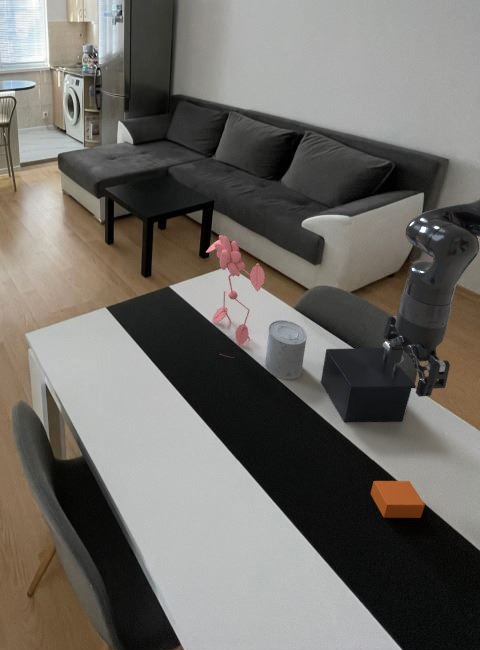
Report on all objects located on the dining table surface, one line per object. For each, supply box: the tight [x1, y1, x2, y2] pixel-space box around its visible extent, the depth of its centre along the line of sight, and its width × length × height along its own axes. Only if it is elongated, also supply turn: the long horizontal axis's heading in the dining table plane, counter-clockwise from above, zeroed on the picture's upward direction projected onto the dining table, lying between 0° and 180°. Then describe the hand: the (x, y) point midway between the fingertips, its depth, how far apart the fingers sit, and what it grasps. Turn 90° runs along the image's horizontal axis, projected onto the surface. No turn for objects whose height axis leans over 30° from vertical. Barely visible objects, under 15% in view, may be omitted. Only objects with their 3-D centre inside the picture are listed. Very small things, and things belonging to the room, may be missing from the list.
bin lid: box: [325, 340, 417, 389], centre depth 104 cm, size 14×12×6 cm
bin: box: [320, 351, 412, 424], centre depth 107 cm, size 14×12×11 cm
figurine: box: [205, 234, 266, 359], centre depth 128 cm, size 15×26×35 cm, turn 19°
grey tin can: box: [264, 319, 308, 380], centre depth 119 cm, size 10×10×12 cm
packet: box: [370, 480, 426, 519], centre depth 86 cm, size 7×5×4 cm, turn 87°
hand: (407, 377), depth 88 cm, fingers open, 8 cm apart
